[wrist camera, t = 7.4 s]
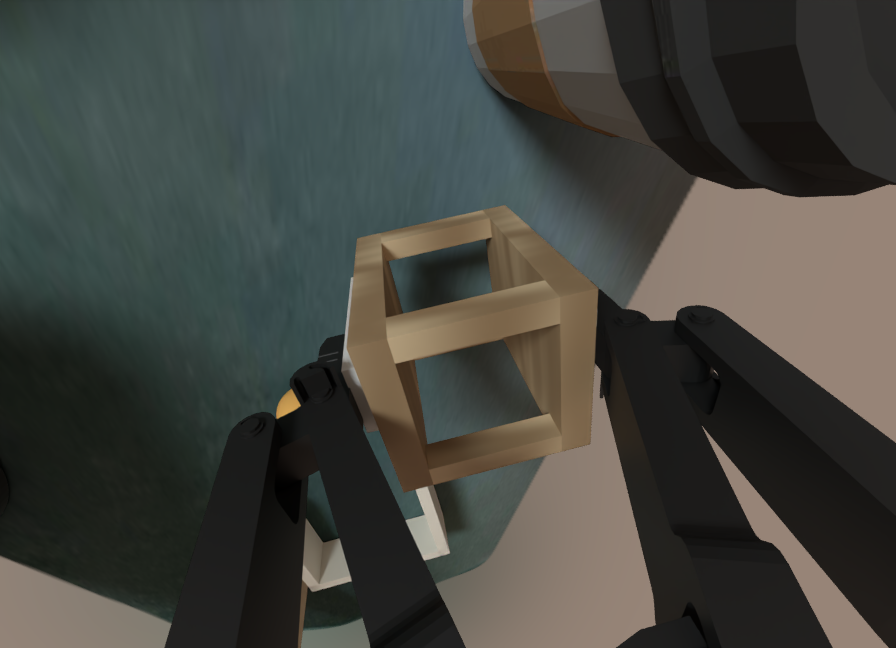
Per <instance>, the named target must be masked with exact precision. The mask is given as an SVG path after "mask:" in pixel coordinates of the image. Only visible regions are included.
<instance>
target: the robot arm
mask: <svg viewBox="0 0 896 648" xmlns="http://www.w3.org/2000/svg"><path fill="white" fill-rule="evenodd" d="M592 283H593V282H592ZM593 284H594V283H593ZM594 285H595V284H594ZM352 286H353V277H351V283H350V293H349V302H348V312H347V322H346V331H345V334H342V335H338V336H334V337H330V338H327V339H326V340H325V342H324V343H323V344H322V346H321V347H320V351H319V358H318V361H316V362H313V363H310V364H307V365H305V366H304V367H302V368H300V369H299V370H298V371H297V372H295V373H294V374H293V376H292V378H291V379H290V387H291V389H292V390H293V392H294V394H295V396H296V398H297V400H298V402H299V403H300V405H301V406H300V407H298V408H297V409H295V410H294V411H292V412H290V413H288V414H286V415H284V416H282V417H280V418H278V419H275V417H274V416H273V415H272V414H271V413H266V412H261V413H256V414H253V415H251V416H248V417H246V418H245V419H243V420H242V421H240V422H239V423H238V424H237V425H236V426H235V427H234V428H233V429H232V431H231V433H230V434H229V436H228V439H227V443H226V446H225V449H224V453H223V456H222V459H221V463H220V466H219V469H218V472H217V476H216V479H215V482H214V486H213V489H212V492H211V496H210V499H209V502H208V506H207V509H206V512H205V515H204V519H203V522H202V525H201V529H200V532H199V535H198V539H197V542H196V545H195V549H194V552H193V555H192V558H191V562H190V565H189V568H188V572H187V575H186V578H185V582H184V585H183V588H182V591H181V595H180V598H179V601H178V605H177V608H176V611H175V615H174V618H173V621H172V625H171V628H170V631H169V635H168V638H167V641H166V644H165V648H298V638H299V622H300V606H301V589H302V573H303V557H304V541H305V525H306V508H307V492H308V476H309V475H311V474H313V473H315V472H317V471H318V470H320V474H321V477H322V481H323V484H324V487H325V491H326V494H327V498H328V501H329V505H330V508H331V511H332V515H333V518H334V522H335V525H336V529H337V532H338V535H339V539H340V542H341V546H342V549H343V553H344V556H345V559H346V563H347V566H348V570H349V573H350V576H351V580H352V583H353V587H354V590H355V594H356V597H357V600H358V604H359V607H360V611H361V614H362V618H363V621H364V624H365V628H366V631H367V634H368V638H369V642H370V648H466V647H465V645H464V643H463V640H462V638H461V636H460V634H459V632H458V630H457V628H456V626H455V624H454V621H453V619H452V617H451V615H450V613H449V611H448V609H447V607H446V605H445V603H444V601H443V600H442V597H441V595H440V593H439V591H438V589H437V587H436V585H435V583H434V580H433V578H432V576H431V574H430V572H429V570H428V568H427V566H426V563H425V561H424V559H423V557H422V555H421V553H420V551H419V548H418V546H417V544H416V542H415V540H414V538H413V536H412V534H411V531H410V529H409V527H408V525H407V523H406V521H405V519H404V516H403V514H402V512H401V510H400V508H399V506H398V504H397V502H396V499H395V497H394V495H393V493H392V491H391V489H390V487H389V484H388V482H387V480H386V478H385V476H384V474H383V472H382V470H381V467H380V465H379V463H378V461H377V459H376V457H375V455H374V452H373V450H372V448H371V446H370V444H369V442H368V440H367V438H366V435H365V433H364V431H363V423H364V426H365V428H366V430H367V433H369V432H373V431H377V430H379V429H378V426H377V424H376V421H375V419H374V416H373V414H372V411H371V409H370V406H369V404H368V401H367V399H366V396H365V394H364V391H363V389H362V386H361V384H360V381H359V379H358V376H357V374H356V371H355V369H354V366H353V364H352V361H351V359H350V356H349V354H348V351H347V338H348V327H349V317H350V307H351V297H352ZM595 286H596V285H595ZM596 287H597V286H596ZM595 364H596V365H597V366H598V367H599V368H600V370H601V385H600V398H603V395H604V397H605V401H606V405H607V409H608V413H609V417H610V421H611V425H612V429H613V433H614V437H615V442H616V445H617V449H618V453H619V457H620V462H621V466H622V470H623V474H624V478H625V482H626V486H627V490H628V494H629V498H630V502H631V506H632V510H633V514H634V518H635V522H636V527H637V530H638V534H639V539H640V542H641V547H642V551H643V555H644V559H645V563H646V567H647V571H648V575H649V579H650V583H651V587H652V592H653V597H654V607H655V621H656V625H655V626H652V627H648V628H645V629H641V630H639V631H638V632H636V633H635V634H634V635H633V636H631V637H630V638H628V639H627V640H626V641H625V642H623V643H622V644H620V645H619V646H618V647H616V648H832V646H831V644H830V642H829V640H828V638H827V636H826V634H825V632H824V630H823V628H822V627H821V625H820V623H819V621H818V619H817V617H816V615H815V613H814V611H813V610H812V608H811V606H810V604H809V602H808V600H807V598H806V596H805V594H804V593H803V591H802V589H801V587H800V585H799V583H798V581H797V579H796V577H795V575H794V574H793V572H792V570H791V568H790V566H789V564H788V563H787V561H786V560H785V558H784V556H783V555H782V554H781V552H780V551H779V550H778V549H777V548H776V547H775V546H774V545H773V544H772V543H769V542H766V541H762V540H760V539H759V538H758V537H757V536H756V535H755V533H754V531H753V529H752V528H751V526H750V524H749V521H748V520H747V518H746V515H745V513H744V511H743V509H742V507H741V505H740V503H739V501H738V499H737V497H736V495H735V493H734V491H733V489H732V487H731V485H730V483H729V481H728V479H727V477H726V475H725V472H724V471H723V468H722V466H721V464H720V462H719V460H718V458H717V456H716V454H715V452H714V450H713V448H712V446H711V444H710V442H709V440H708V438H707V436H706V434H705V432H704V430H703V428H702V426H703V427H704V429H705V430H706V431H707V432H708V433H709V435H710V436H711V437H712V438H713V439H714V441H715V442H716V443H717V444H718V445H719V447H720V448H721V449H722V450H723V451H724V453H725V454H726V455H727V456H728V457H729V459H730V460H731V461H732V462H733V463H734V464H735V466H736V467H737V468H738V469H739V470H740V472H741V473H742V474H743V475H744V476H745V478H746V479H747V480H748V481H749V482H750V484H751V485H752V486H753V487H754V488H755V490H756V491H757V492H758V493H759V494H760V495H761V496H762V498H763V499H764V500H765V501H766V503H767V504H768V505H769V506H770V507H771V509H772V510H773V511H774V512H775V513H776V515H777V516H778V517H779V518H780V519H781V520H782V522H783V523H784V524H785V525H786V527H787V528H788V529H789V530H790V531H791V533H793V535H794V536H795V537H796V538H797V540H798V541H799V542H800V543H801V544H802V546H803V547H804V548H805V549H806V550H807V551H808V552H809V554H810V555H811V556H812V558H813V559H814V560H815V561H816V562H817V564H818V565H819V566H820V567H821V568H822V569H823V571H824V572H825V573H826V574H827V575H828V577H829V578H830V579H831V580H832V581H833V583H834V584H835V585H836V586H837V587H838V589H839V590H840V591H841V592H842V593H843V595H844V596H845V597H846V598H847V599H848V601H849V602H850V603H851V604H852V605H853V607H854V608H855V609H856V610H857V611H858V612H859V614H860V615H861V616H862V617H863V618H864V620H865V621H866V622H867V623H868V624H869V625H870V627H871V628H872V629H873V630H874V632H875V633H876V634H877V635H878V636H879V637H880V638H881V639H882V640H883V642H884V643H885V644H886V645H887V646H888V647H889V648H896V443H895V442H894V441H893V440H891V439H890V438H889V437H887V436H886V435H885V434H883V433H882V432H880V431H879V430H878V429H877V428H875V427H874V426H873V425H871V424H870V423H868V422H867V421H866V420H865V419H863V418H862V417H860V416H859V415H858V414H857V413H855V412H854V411H853V410H851V409H850V408H848V407H847V406H846V405H845V404H843V403H842V402H840V401H839V400H838V399H837V398H835V397H834V396H833V395H831V394H830V393H829V392H827V391H826V390H825V389H823V388H822V387H821V386H819V385H818V384H817V383H815V382H814V381H813V380H811V379H810V378H809V377H807V376H806V375H805V374H804V373H802V372H801V371H800V370H798V369H797V368H796V367H794V366H793V365H792V364H790V363H789V362H788V361H786V360H785V359H784V358H782V357H781V356H779V355H778V354H777V353H776V352H774V351H773V350H771V349H770V348H769V347H768V346H766V345H765V344H764V343H762V342H761V341H760V340H758V339H757V338H756V337H754V336H753V335H752V334H750V333H749V332H748V331H746V330H745V329H744V328H742V327H741V326H739V325H738V324H737V323H736V322H734V321H733V320H732V319H730V318H729V317H728V316H726V315H725V314H724V313H722V312H720V311H719V310H717V309H714V308H710V307H707V306H700V305H698V306H697V305H696V306H687V307H685V308H681V309H680V310H679V311H678V312H677V316H676V320H672V321H671V320H670V321H650V319H649V318H648V317H647V316H646V315H645V314H643V313H641V312H639V311H635V310H629V309H622V308H621V307H619V306H618V305H617V304H616V303H615V302H614V301H613V300H612V299H611V298H609V297H608V296H607V295H606V294H604V292H603V291H602V290H600V289H599V288H598V304H597V323H596V342H595V362H594V365H595ZM714 370H715V371H716V372H717V374H718V375H717V374H716V373H715V372H714ZM8 499H9V487H8V482H7V479H6V476H5V474H4V472H3V470H2V469H1V467H0V516H1V515H2V513H3V512H4V510H5V508H6V506H7V503H8Z"/></svg>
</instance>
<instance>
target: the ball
mask: <svg viewBox="0 0 896 648" xmlns="http://www.w3.org/2000/svg"><path fill="white" fill-rule="evenodd" d="M300 406H301V405H300V403H299V402H298V400H297V398H296V396H295V394H294V392H293V390H292V389H291V390H289V391H288V392H287V393H286V394H285V395H284V396H283V397H282V399H281V400H280V402H279V404H278V407H277V413H276V417H277V419H278V418H280V417H282V416H284V415H286V414H288V413H290V412H292V411H294V410H295V409H297V408H298V407H300Z"/></svg>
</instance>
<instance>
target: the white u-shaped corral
mask: <svg viewBox="0 0 896 648" xmlns="http://www.w3.org/2000/svg"><path fill="white" fill-rule="evenodd" d="M416 492H417V495H418V498H419V500H420V503H421V506H422V508H423V511H424V514H425V515H423V516H419V517H415V518H412V519H408V520H405V521H406V523H407V525H408V527H409V529H410V531H411V534H412V536H413V538H414V540H415V542H416V544H417V546H418V548H419V551H420V553H421V555H422V557H423V559H424V561H425V560H428V559H432V558H435V557H439V556H442V555H446V554H449V553H450V551H449V545H448V539H447V534H446V528H445V522H444V517H443V513H442V510H441V507H440V504H439V501H438V498H437V494H436V491H435V488H434V485H431V486H427V487H423V488H419V489H416ZM302 580H303V581H304V582H305V583H306V585H307V586H308V587H309V588H310V589H311V591H312V592H314V591H318V590H321V589H325V588H329V587H332V586H336V585H339V584H343V583H346V582H350V581H352V580H351V576H350V573H349V570H348V566H347V563H346V559H345V556H344V553H343V549H342V546H341V542H340V539H335V540H331V541H328V542H324V543H323V542H322V540H321V539H320V537H319V536H318V535H317V533H316V532H315V530H314V529H313V527H312V526H311V524H310V523H309V522H308V520H307V519H306V525H305V541H304V557H303V573H302Z"/></svg>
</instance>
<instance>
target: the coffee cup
mask: <svg viewBox="0 0 896 648" xmlns="http://www.w3.org/2000/svg"><path fill="white" fill-rule="evenodd" d="M463 21H464V27H465V32H466V37H467V43H468V47H469V49H470V52H471V54H472V57H473V59H474V61H475V64H476V66H477V68H478V70H479V71H480V72H481V74H482V75H483V76H484V78H485V79H486V80H487V82H488V83H489V85H490V86H492V87H493V88H494V89H496V90H497V91H498V92H500V93H501V94H502V95H504V96H505V97H508V98H510V99H513V100H516V101H519V102H521V103H523V104H524V105H526V106H527V107H529V108H532V109H535V110H538V111H540V112H543V113H546V114H548V115H551V116H554V117H557V118H559V119H562V120H565V121H568V122H570V123H573V124H576V125H579V126H581V127H584V128H587V129H590V130H593V131H596V132H599V133H602V134H605V135H608V136H611V137H624V138H627V139H630V140H633V141H636V142H638V143H641V144H644V145H647V146H650V147H653V148H656V149H659V150H662V151H664V152H665V153H666V154H667V155H668V156H669V157H671V158H672V159H673V160H674V161H675V162H676V163H678V164H679V165H680V166H681V167H682V168H683V169H685V170H686V171H687V172H688V173H689V174H691V175H694V176H697V177H700V178H703V179H706V180H709V181H712V182H715V183H718V184H721V185H725V186H728V187H730V188H734V189H752V188H753V189H754V188H765V189H768V190H771V191H774V192H777V193H780V194H783V195H788V196H795V197H818V196H846V195H857V194H860V193H863V192H866V191H870V190H873V189H876V188H879V187H882V186H885V185H889V184H890V185H896V0H464V5H463Z"/></svg>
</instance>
